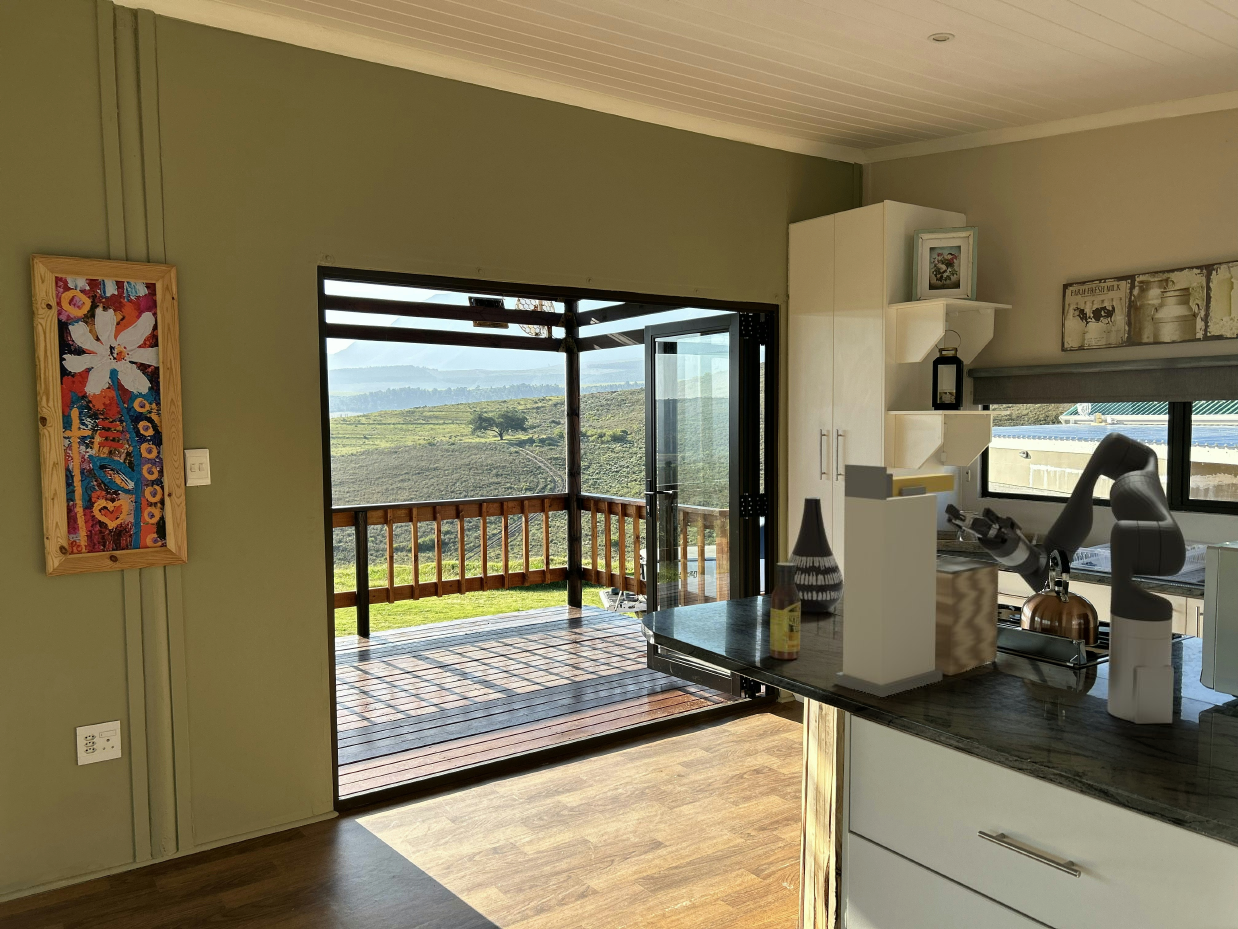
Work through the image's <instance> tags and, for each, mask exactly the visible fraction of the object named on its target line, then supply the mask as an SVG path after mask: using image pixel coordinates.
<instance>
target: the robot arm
mask: <svg viewBox="0 0 1238 929" xmlns="http://www.w3.org/2000/svg"><path fill="white" fill-rule="evenodd" d="M1159 473H1160V472H1159V457H1158V454H1157V452H1156V451H1155V450H1154V449H1153V448H1152V447H1150V446H1149V445H1147V444H1144V443H1142V442H1140V441H1138V440H1136V439H1133V438H1132V437H1129V436H1127V435H1125V434H1123V433H1121V432H1116V431H1112V432H1110V433H1108V434H1107V435H1105V437H1104V438H1102V440H1101V441H1100V442H1099V443H1098V445H1097V446H1096V448H1095V449H1094V451H1093V452H1092V455H1091V456H1090V458H1089V460H1088V462H1087V464H1086V466H1085V467H1084V469H1083V472H1082V473H1081V475H1080V477H1079V478H1078V480H1077V483H1076V485H1075V486H1074V488H1073V490H1072V492H1071V494H1070V496H1069V498H1068V500H1067V502H1066V503H1065V506H1064V507H1063V509H1062V511H1061V512H1060V513H1059V516H1058V517H1057V519H1056V520H1055V522H1054V523H1053V524H1052V525H1051V527H1050V528H1049V530H1048V531H1047V533H1046V534H1045V535H1044V537H1043V539H1042V547H1043V549H1044V551H1045V553H1046V555H1045V554H1044V553H1043V552H1042V551H1041V550H1040V549H1038V548H1037V547H1035V546H1034V545H1033V544H1031V542H1029V541H1028V540H1027V539H1026V537H1025V536H1024V535H1023V534H1022V533H1021V532H1022V529H1023V527H1021V526H1020V525H1019V524H1018V522H1016V521H1015V519H1013V517H1011V516H1005V517H1003V516H1002V515H1001V514H997V513H996V512H995V511H994V510H992V508H990V507H989V506H988V507H987V506H986V507H984V509H983V512H982V515H981V516H982V517H981V516H978V515H975V514H973V513H970V512H968V513H965V512H963V511H960V509H958V508H957V506H955V505H954V504H952V503H948V504H947V505H946V508H945V510H944V512H945V514H946V515H947V519H946V523H947V524H949V525H950V526H951V527H953V528H954V529H955V530H956V531H958V532H959V533H961V534H965V533H966V531H967V532H970V533H972V534H973V535H974V536H976V538H977V541H978V544H979V545H980V547H981V548H983V550H984V551H986V552H987V553H989V554H990V555H991V556H992V557H993V558H995V560H997V562H1000V563H1002V564H1003V565H1005V566H1006V567H1007V568H1008V569H1009V570H1010V571H1012V572H1014V573H1016V574H1018V575H1019V576H1020V578H1022V579H1023V580H1024V582H1025V583H1027V585H1028V586H1029V588H1030V589H1031V590H1032V591H1033V592H1034V593H1035V594H1036V595H1038V594H1037V593H1038V592H1040V591H1042V590H1043V589H1044V586H1045V583H1046V581H1047V579H1048V577H1049V570H1050V555H1051V553H1052V552H1053V551H1054V550H1056V549H1059V550H1064V551H1065V552H1066V553H1067V556H1068V558H1069V563H1070V567H1071V565H1072V563H1073V560H1074V557H1075V555H1076V553H1077V552H1078V551H1079V550H1080V548H1081V546H1082V545H1083V544H1084V543H1085V541H1086V539H1088V537H1089V535H1090V533H1091V531H1092V528H1093V525H1094V503H1093V502H1094V501H1093V500H1094V491H1095V490H1094V489H1095V486H1096V484H1097V482H1098V480H1099V478H1100V476H1103V477H1105V478H1108V479H1110V480H1112V481H1114V482H1113V483H1112V484H1111V487H1110V489H1109V494H1108V495H1109V496H1108V497H1109V504H1110V508H1111V512H1112V515H1113V517H1114V518H1115V519H1116V522H1115V523H1114V524H1113V526H1112V528H1111V531H1110V541H1109V553H1110V554H1109V555H1110V557H1109V558H1110V575H1111V576H1110V578H1111V579H1110V581H1111V582H1110V587H1111V588H1110V603H1109V604H1110V607H1109V612H1110V614H1109V638H1108V641H1109V644H1108V645H1109V647H1108V677H1107V712H1108V713H1109V714H1110V715H1111V716H1113V717H1116V718H1118V719H1119V718H1120V719H1122V720H1125V721H1130V722H1133V723H1135V724H1136V725H1137V724H1172V723H1173V704H1174V703H1173V701H1174V676H1175V675H1174V671H1175V669H1174V667H1173V666H1172V647H1173V646H1172V643H1173V642H1172V641H1173V640H1172V639H1173V616H1174V615H1173V614H1174V611H1173V610H1174V609H1173V608H1174V607H1173V603H1172V602H1171V600H1169V599H1167V598H1165V597H1163V596H1161V595H1158V594H1156V593H1153V592H1150V591H1148V590H1146V589H1144V588H1142V587H1140V586H1139V585H1137V584H1136V583H1135V582H1134V581H1133V576H1141V577H1156V578H1157V577H1158V578H1163V577H1164V578H1168V577H1173V576H1176V575H1178V574H1179V573H1180V572H1181V571H1182V570H1183V569H1184V567H1185V563H1186V560H1187V559H1186V558H1187V548H1186V542H1185V539H1184V535H1183V533H1182V530H1181V528H1180V526H1179V525H1178V523H1177V521H1176V520H1175V518H1174V516H1173V515H1172V513H1171V510H1170V508H1169V502H1168V499H1167V496H1166V493H1165V489H1164V488H1163V486H1162V483H1161V479H1160V474H1159ZM970 519H972V521H971V523H970ZM969 523H970V524H969ZM1047 584H1048V582H1047ZM1047 584H1046V586H1045V589H1046V587H1047ZM1045 589H1044V590H1045Z"/></svg>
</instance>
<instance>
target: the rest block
mask: <svg viewBox="0 0 1238 929" xmlns="http://www.w3.org/2000/svg"><path fill="white" fill-rule="evenodd" d="M999 564H1000V563H999V562H994V561H988V560H980V559H974V558H967V557H953V558H949V559H941V560H936V626H935V668H936V669H940V670H942V675H947V676H950V675H951V676H954V675H958V674H961V673H964V672H966V670H967V671H970V669H971V670H973V669H972V668H974V669H976V668H975V667H977V666H980V665H983V664H985V663H987V662H990V661H992V660H994V659H996V658H998V655H997V654H998V618H999V617H998V613H999V611H998V609H999V604H998V603H999Z"/></svg>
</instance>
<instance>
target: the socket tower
mask: <svg viewBox="0 0 1238 929" xmlns="http://www.w3.org/2000/svg"><path fill="white" fill-rule="evenodd" d="M887 470H888V468H887V466H882V465H881V466H880V465H867V464H866V465H864V464H849V463H848V464H844V507H843V508H844V509H843V511H844V512H843V513H844V515H843V516H844V518H843V520H844V521H843V523H844V526H843V527H844V528H843V530H844V532H843V584H844V590H843V619H842V620H843V621H842V622H843V627H842V628H843V629H842V630H843V632H842V636H843V638H842V639H843V640H842V642H843V644H842V645H843V646H842V647H843V649H842V651H843V652H842V671H841V672H836V673H835V680H834V681H835V683H834V684H835V685H838V686H842V687H843V688H844V687H845V688H848V689H852V690H854V689H855V690H854V691H857V690H859V691H858V692H860V691H863V692H862V693H864V692H866V693H865V694H867V693H870V694H874V695H877V696H880V697H885V696H888V695H891V694H895V693H899V692H902V691H905V690H909V691H910V689H912V690H914V689H913V688H915V689H918V688H917V687H919V688H921V687H920V686H922V687H924V685H925V686H927V685H926V684H929V685H931V684H930V683H932V684H934V683H933V682H935V683H939V682H941V680H942V681H943V674H942V670H940V669H936V668H935V626H936V561H937V550H938V548H937V546H938V543H937V542H938V540H937V539H938V538H937V537H938V494H936V493H926V486H920V487H909V488H901V495H900V496H894V497H889V498H886V497H887V473H888V471H887ZM938 681H939V682H938ZM905 692H906V691H905ZM902 693H903V692H902ZM870 694H869V695H870ZM899 694H900V693H899ZM895 695H896V694H895ZM877 696H876V697H877ZM880 697H879V698H880ZM885 698H886V697H885Z"/></svg>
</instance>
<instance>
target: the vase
mask: <svg viewBox="0 0 1238 929" xmlns="http://www.w3.org/2000/svg"><path fill="white" fill-rule="evenodd" d="M821 501H822V500H821V497H819V496H817V497H816V496H807V497H805V498H804V501H803V502H804V503H803V512H802V517H801V523H800V528H799V532H798V536H797V538H796V542H795V544H794V546H793V549H792V551H791V554H790V556H789V558H788V560H787V562H786V563H794V564H796V571H795V586H796V589H797V592H798V595H799V598H800V601H801V610H800V614H801V613H802V614H805V615H822V614H825V612H826V611H828V610H830V609H833V608H834V607H835V606H836V605H838V603H839V601H840V600H841V599H842V597H843V595H844V576H843V574H842V572H841V569H840V566H839V565H838V564H839V563H837V560H836V558H835V556H834V553H833V551H832V549H831V546H830V543H829V540H828V537H827V534H826V533H827V532H826V529H825V528H826V527H825V524H824V518H823V512H822V504H821V503H822V502H821Z"/></svg>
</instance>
